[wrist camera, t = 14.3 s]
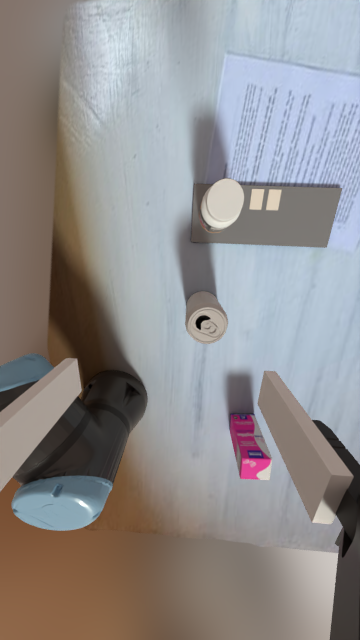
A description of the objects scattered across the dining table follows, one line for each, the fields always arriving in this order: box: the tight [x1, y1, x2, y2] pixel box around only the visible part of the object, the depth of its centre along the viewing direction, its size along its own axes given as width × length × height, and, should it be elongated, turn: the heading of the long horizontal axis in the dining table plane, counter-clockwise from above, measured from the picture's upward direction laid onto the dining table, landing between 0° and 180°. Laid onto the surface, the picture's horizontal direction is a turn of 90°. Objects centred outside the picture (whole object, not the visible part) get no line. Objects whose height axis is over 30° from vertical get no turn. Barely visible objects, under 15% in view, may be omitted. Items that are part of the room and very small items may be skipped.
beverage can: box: [185, 291, 228, 344], centre depth 33 cm, size 6×6×12 cm
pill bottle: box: [199, 178, 244, 233], centre depth 29 cm, size 6×6×10 cm
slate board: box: [191, 184, 342, 248], centre depth 33 cm, size 24×9×1 cm, turn 88°
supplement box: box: [230, 414, 272, 480], centre depth 42 cm, size 6×6×12 cm
